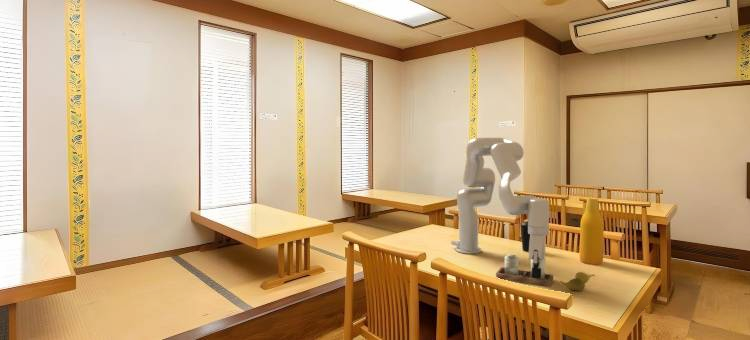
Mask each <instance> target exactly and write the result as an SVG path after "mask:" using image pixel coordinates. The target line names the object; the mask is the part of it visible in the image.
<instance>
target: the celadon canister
mask: <svg viewBox="0 0 750 340" xmlns="http://www.w3.org/2000/svg"><path fill="white" fill-rule="evenodd" d="M537 260H539V259H538V258H537ZM532 263H533V258H532V259H531V260H530V271H531V277H530V278H533V277H532ZM537 263H538V264H539V262H537ZM540 268H541V278H540V280H546V279H545V274H546V258H545V257H544V258H543V260H542V261H541V264H540ZM534 279H539V278H534Z"/></svg>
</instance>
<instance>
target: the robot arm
mask: <svg viewBox="0 0 750 340" xmlns="http://www.w3.org/2000/svg"><path fill="white" fill-rule="evenodd" d="M465 153H466V161H465V166H464V173H463V179H462V181H463V182H462V183H463V184H464V186H465V187H468V188H462V189H461V190H459V191H457V193H456V203H457V206H458V207H457V208H458V240H451V242H450V243H451V245H452V246H455V251H456V252H458V253H460V254H466V255H467V254H468V255H470V254H471V255H473V254H475V255H476V254H479V253H482V248H481V247H480V246H479V215H478V213H477V211H476V208H480V207H486V206H489V204H490V203H491V202H492V199H493V192H494V189H495V183H496V174H495V171H494V170H492V168H490V167H484V166H485V159H484V157H486V156H489V157H490V156H491V158H492V160H493V162H494V164H495V166H496V169H497V171H498V174H499V176H500V182H499V184H498V197H499V200H500V202H501V205H502V208H503V209H504V211H506V213H508V214H509V215H510V216H511V215H512V216H518V215H519V216H520V215H527V221H528V234H530V242H529V252H528V260H530V261H531V259H532V258H533V263H532V277H533V278H539V279H540V278H541V268H540V264H541V261H542V260H543V258H545V256H546V245H547V244H546V242H547V241H546V239H547V237H546V236H549V235H550V201H549V199H547V198H541V197H537V196H535V195H530V194H529V195H528V194H527V195H514V193H513V191H512V189H511V182H512V181H514V180H516V179H517V178H518V177H519V176H520V175H521V174H522V173H521V172H522V170H521V168H520V166H519V163H518V162H517V161H521V160H522V159H523V157H524V154H525V153H524V148H523V146H522V144H520V143H519V142H517V141H515V140H514V141H513V140H511V139H507V138H504V137H475V138H471V139H470V140H469V141H468V142H467V145H466V151H465ZM537 258H538V259H539V260H537ZM537 262H539V264H538V263H537Z"/></svg>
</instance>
